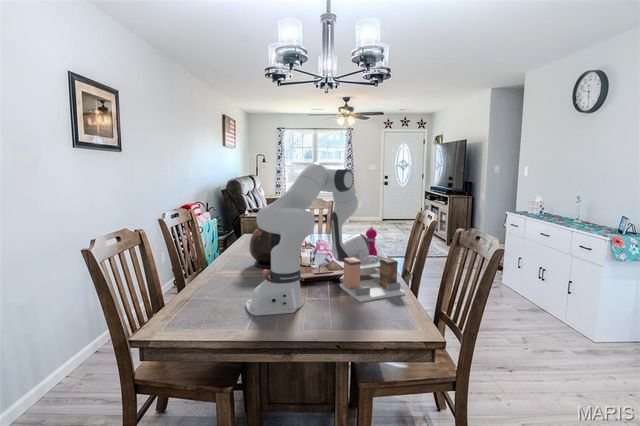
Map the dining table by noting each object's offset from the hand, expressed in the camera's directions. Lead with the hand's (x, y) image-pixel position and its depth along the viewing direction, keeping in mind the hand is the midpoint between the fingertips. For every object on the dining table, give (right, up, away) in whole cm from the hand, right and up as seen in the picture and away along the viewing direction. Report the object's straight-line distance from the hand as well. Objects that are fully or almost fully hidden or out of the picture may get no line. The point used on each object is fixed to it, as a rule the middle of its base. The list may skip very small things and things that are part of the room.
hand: (384, 272), depth 160 cm
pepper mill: (0, 0, +41) cm, 41 cm away
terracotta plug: (-15, -5, -2) cm, 16 cm away
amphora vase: (-56, -1, +33) cm, 65 cm away
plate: (-6, -7, -3) cm, 10 cm away
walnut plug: (+1, -5, -2) cm, 6 cm away
